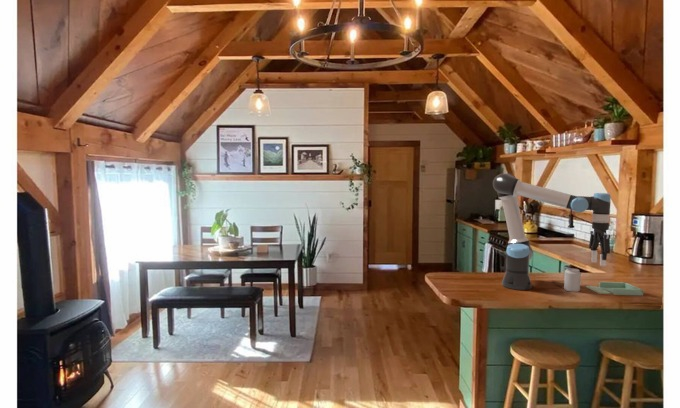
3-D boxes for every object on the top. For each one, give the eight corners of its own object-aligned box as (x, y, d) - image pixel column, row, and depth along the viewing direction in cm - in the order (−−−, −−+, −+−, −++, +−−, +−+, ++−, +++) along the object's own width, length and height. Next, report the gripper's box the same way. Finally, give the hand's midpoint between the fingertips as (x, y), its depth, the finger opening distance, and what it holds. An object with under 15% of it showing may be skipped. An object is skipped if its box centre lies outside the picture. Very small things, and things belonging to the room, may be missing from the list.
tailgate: (610, 295, 202) (598, 294, 202) (597, 288, 213) (586, 287, 213) (610, 292, 202) (598, 291, 202) (597, 286, 213) (586, 285, 213)
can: (565, 288, 214) (566, 266, 213) (580, 290, 209) (582, 269, 208) (562, 291, 208) (563, 269, 207) (578, 293, 203) (579, 271, 202)
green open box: (614, 295, 200) (615, 289, 200) (598, 287, 214) (599, 281, 214) (642, 296, 199) (643, 289, 199) (625, 288, 213) (625, 282, 213)
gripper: (620, 224, 194) (617, 268, 196) (596, 219, 215) (594, 260, 216) (604, 224, 195) (602, 268, 197) (582, 219, 215) (580, 259, 217)
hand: (598, 264), depth 206 cm, fingers open, 7 cm apart
